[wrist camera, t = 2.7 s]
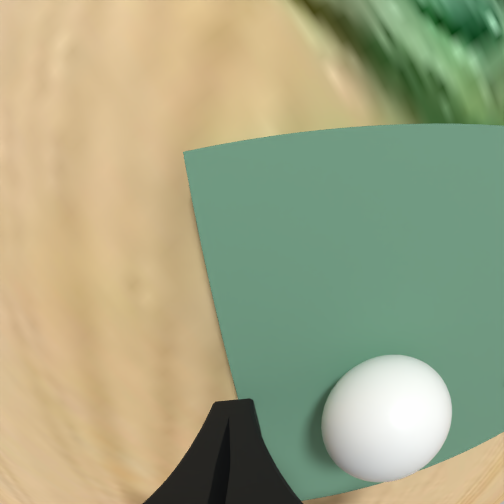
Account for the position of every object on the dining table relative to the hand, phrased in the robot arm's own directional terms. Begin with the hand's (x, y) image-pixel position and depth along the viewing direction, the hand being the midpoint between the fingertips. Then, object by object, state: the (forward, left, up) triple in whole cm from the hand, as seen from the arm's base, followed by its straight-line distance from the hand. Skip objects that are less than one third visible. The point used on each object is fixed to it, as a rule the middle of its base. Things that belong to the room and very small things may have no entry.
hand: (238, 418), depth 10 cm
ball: (0, -5, +1) cm, 5 cm away
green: (0, -11, -2) cm, 11 cm away
